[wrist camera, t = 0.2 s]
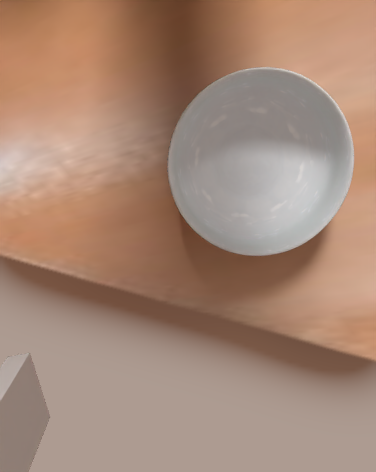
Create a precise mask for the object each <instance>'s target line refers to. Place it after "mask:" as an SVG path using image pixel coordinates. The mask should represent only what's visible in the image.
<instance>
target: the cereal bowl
mask: <svg viewBox="0 0 376 472" xmlns="http://www.w3.org/2000/svg"><path fill="white" fill-rule="evenodd" d="M167 161H168V163H167V166H168V168H167V172H168V178H169V184H170V189H171V193H172V196H173V198H174V201H175V204H176V206H177V207H178V209H179V212H180V214H181V215H182V216H183V218H184V219H185V221H186V222H187V223H188V224H189V225H190V227H191V228H192V229H193V230H194V231H195V232H196V233H197V234H199V235H200V236H201V237H202V238H204V239H205V240H206V241H208V242H209V243H211V244H213V245H215V246H217V247H219V248H221V249H223V250H226V251H229V252H232V253H236V254H241V255H248V256H266V255H274V254H279V253H282V252H286V251H289V250H291V249H294V248H296V247H299V246H300V245H302V244H304V243H306V242H307V241H309V240H310V239H312V238H313V237H314V236H316V235H317V234H318V233H319V232H320V231H321V230H322V229H323V228H324V227H325V226H326V225H327V224H328V223H329V222H330V221H331V220H332V218H333V217H334V216H335V214H336V213H337V211H338V210H339V208H340V207H341V205H342V203H343V201H344V199H345V197H346V195H347V193H348V190H349V187H350V183H351V180H352V174H353V167H354V148H353V141H352V136H351V132H350V129H349V126H348V123H347V121H346V119H345V116H344V114H343V113H342V111H341V109H340V108H339V106H338V105H337V103H336V102H335V101H334V100H333V98H332V97H331V96H330V95H329V94H328V93H327V92H326V91H325V90H323V89H322V88H321V87H320V86H319V85H317V84H316V83H314V82H313V81H311V80H310V79H308V78H306V77H305V76H303V75H300V74H298V73H295V72H292V71H289V70H285V69H280V68H272V67H257V68H249V69H244V70H240V71H237V72H234V73H230V74H228V75H226V76H224V77H222V78H220V79H218V80H216V81H215V82H213V83H212V84H210V85H208V86H207V87H206V88H205V89H203V90H202V91H201V92H200V93H198V94H197V96H196V97H195V98H194V99H193V100H192V101H191V102H190V103H189V105H188V106H187V108H186V109H185V111H184V112H183V113H182V115H181V117H180V119H179V120H178V122H177V124H176V128H175V130H174V131H173V135H172V139H171V141H170V146H169V152H168V158H167Z"/></svg>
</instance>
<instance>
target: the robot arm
mask: <svg viewBox="0 0 376 472" xmlns="http://www.w3.org/2000/svg"><path fill="white" fill-rule="evenodd" d="M49 418H50V415H49V411H48V409H47V406H46V402H45V399H44V396H43V393H42V390H41V387H40V384H39V380H38V377H37V374H36V371H35V368H34V365H33V362H32V358H31V355H30V353H25V354H20V355H14V356H8V357H7V358H6V360H5V361H4V363H3V364H2V366H1V367H0V472H28V471H29V469H30V467H31V464H32V461H33V459H34V456H35V454H36V451H37V449H38V446H39V444H40V441H41V439H42V436H43V434H44V431H45V428H46V426H47V423H48V421H49Z"/></svg>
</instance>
